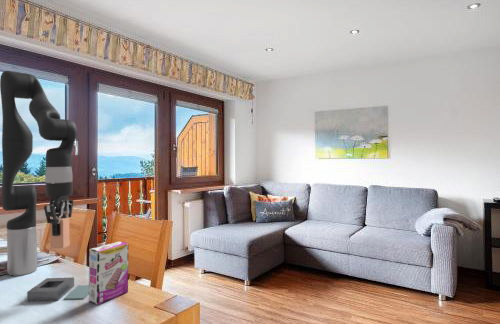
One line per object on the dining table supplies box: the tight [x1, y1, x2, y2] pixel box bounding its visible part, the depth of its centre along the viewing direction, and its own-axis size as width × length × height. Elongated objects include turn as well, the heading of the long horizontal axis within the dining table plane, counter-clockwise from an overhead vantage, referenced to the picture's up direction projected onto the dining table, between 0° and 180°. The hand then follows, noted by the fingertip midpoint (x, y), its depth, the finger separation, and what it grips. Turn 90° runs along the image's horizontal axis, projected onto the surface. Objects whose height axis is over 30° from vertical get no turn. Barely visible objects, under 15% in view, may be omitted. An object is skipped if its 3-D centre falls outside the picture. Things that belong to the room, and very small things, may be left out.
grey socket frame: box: [26, 277, 75, 303], centre depth 105 cm, size 11×9×3 cm
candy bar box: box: [88, 241, 129, 306], centre depth 102 cm, size 11×5×16 cm, turn 149°
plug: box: [49, 218, 71, 250], centre depth 104 cm, size 4×4×9 cm
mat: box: [63, 284, 89, 301], centre depth 106 cm, size 10×6×1 cm, turn 5°
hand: (60, 233), depth 104 cm, fingers closed on plug, 4 cm apart
